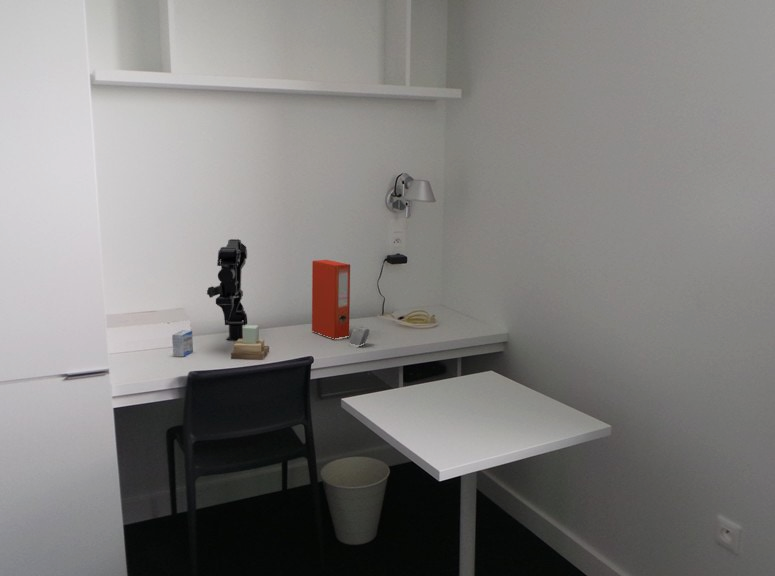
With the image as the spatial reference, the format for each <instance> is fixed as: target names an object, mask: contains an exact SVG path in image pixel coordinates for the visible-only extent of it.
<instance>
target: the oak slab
mask: <svg viewBox="0 0 775 576" xmlns="http://www.w3.org/2000/svg"><path fill="white" fill-rule="evenodd" d="M264 346H265V339H264V338H259V341H258V342H257V343H256V344H248V343H243V339H238V340H236V342H235V343H234V344H233V351H234V353H261V351H262V350H263V348H264Z"/></svg>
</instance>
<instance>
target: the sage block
mask: <svg viewBox="0 0 775 576" xmlns="http://www.w3.org/2000/svg"><path fill="white" fill-rule="evenodd" d="M259 334H260V326H259V325H253V324H246V325H243V343H248V344H256V343H257V342H258V341H259V339H260V335H259Z"/></svg>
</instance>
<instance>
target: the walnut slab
mask: <svg viewBox="0 0 775 576" xmlns="http://www.w3.org/2000/svg"><path fill="white" fill-rule="evenodd" d="M269 352H270V346H269V345H264V348H263V350H262V351H261V353H234V350H232V351H231V352H230V360H246V361H247V360H254V361H255V360H257V361H264V358H265V357H266V356H267V355H268V354H269Z"/></svg>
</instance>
